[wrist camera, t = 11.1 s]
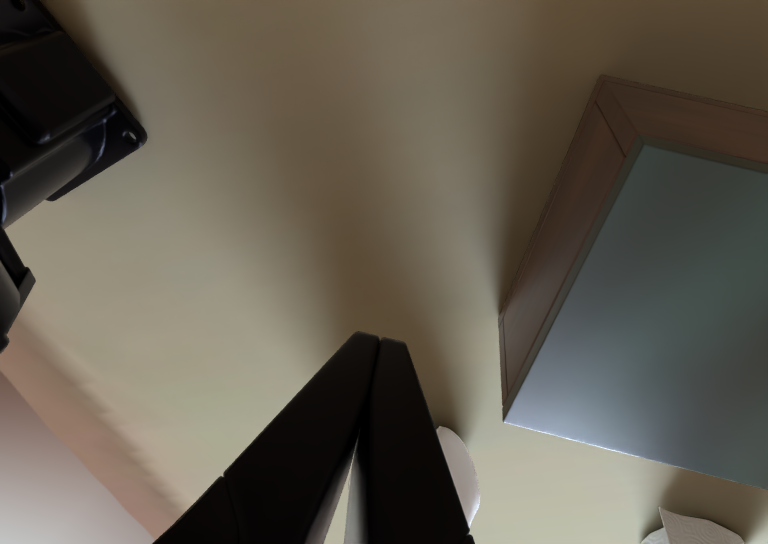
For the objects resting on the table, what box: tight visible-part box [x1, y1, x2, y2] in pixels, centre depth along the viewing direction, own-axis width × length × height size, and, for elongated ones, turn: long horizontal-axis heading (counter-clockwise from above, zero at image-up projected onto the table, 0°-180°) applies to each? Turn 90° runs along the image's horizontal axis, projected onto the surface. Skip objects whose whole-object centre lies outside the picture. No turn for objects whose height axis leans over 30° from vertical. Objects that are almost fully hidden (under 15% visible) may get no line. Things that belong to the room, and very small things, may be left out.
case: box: [498, 75, 768, 406], centre depth 19 cm, size 13×11×5 cm
